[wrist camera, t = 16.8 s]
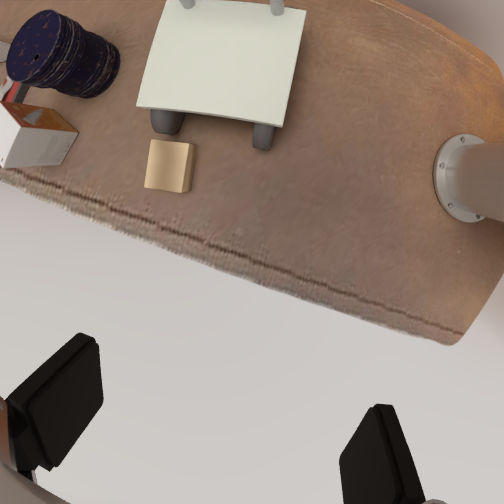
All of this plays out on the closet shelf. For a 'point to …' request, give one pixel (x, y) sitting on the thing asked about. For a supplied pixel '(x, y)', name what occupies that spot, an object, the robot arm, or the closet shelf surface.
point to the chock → (170, 166)
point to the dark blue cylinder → (62, 56)
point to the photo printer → (4, 51)
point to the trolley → (222, 64)
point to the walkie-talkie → (13, 91)
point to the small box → (33, 136)
